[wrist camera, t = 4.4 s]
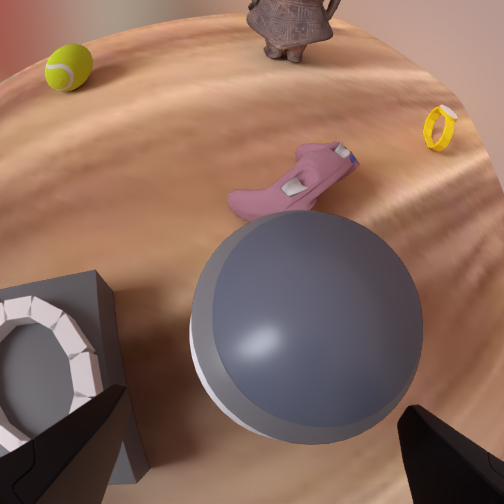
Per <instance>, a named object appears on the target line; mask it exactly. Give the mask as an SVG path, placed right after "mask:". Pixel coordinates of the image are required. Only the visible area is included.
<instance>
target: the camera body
mask: <svg viewBox="0 0 504 504" xmlns="http://www.w3.org/2000/svg"><path fill="white" fill-rule="evenodd" d="M114 383H118V384H122V385H126V386H127V382H126V377H125V372H124V367H123V361H122V356H121V350H120V344H119V337H118V331H117V323H116V316H115V307H114V298H113V291H112V289H111V288H110V287H109V286H108V285H107V283H106V282H105V281H104V280H103V278H102V277H101V276H100V275H99V273H98V272H97V271H96V270H92V271H87V272H82V273H77V274H72V275H67V276H62V277H57V278H52V279H47V280H43V281H38V282H33V283H28V284H23V285H19V286H14V287H9V288H4V289H0V457H1V456H3V455H5V454H7V453H9V452H11V451H13V450H15V449H16V448H18V447H20V446H21V445H23V444H25V443H26V442H28V441H29V440H31V439H33V440H34V437H36V436H37V435H39V434H40V433H42V432H43V431H45V430H46V429H48V428H49V427H51V426H52V425H54V424H55V423H57V422H58V421H60V420H61V419H63V418H64V417H66V416H67V415H68V414H70V413H71V412H73V411H74V410H76V409H77V408H79V407H80V406H82V405H83V404H85V403H86V402H88V401H89V400H90V399H92V398H93V397H95V396H96V395H98V394H99V393H101V392H102V391H103V390H105V389H106V388H108V387H109V386H111V385H112V384H114ZM130 403H131V400H130ZM149 469H150V468H149V465H148V462H147V459H146V455H145V452H144V449H143V446H142V442H141V439H140V435H139V432H138V428H137V424H136V421H135V417H134V413H133V409H132V405H131V408H130V413H129V417H128V421H127V425H126V429H125V433H124V437H123V441H122V445H121V449H120V453H119V456H118V458H117V461H116V464H115V466H114V469H113V472H112V474H111V477H110V480H109V483H108V485H115V484H137V483H138V482H139V480H140V479H141V478H142V477H143V476H144V475H145V474H146V473H147V472H148V470H149Z"/></svg>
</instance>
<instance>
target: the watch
mask: <svg viewBox="0 0 504 504" xmlns="http://www.w3.org/2000/svg"><path fill="white" fill-rule="evenodd" d="M441 114H442V115H443V116H444V117H445V127H444V131H443V135H442V136H441V137H440V139H439V141H438V142H437V143H435V144H434V143H433V140H432V129H433V127H434V124H435V121H436V120H437V119H438V117H439V116H440V115H441ZM456 120H457V115H456V114H455V113H454V112H453V111H452V110H451V109H449V108H448V107H446V106H444V105H440V106H439V107H436V108H435V109H433V110H432V111H431V112H430V114H429V115H428V116H427V119H426V122H425V124H424V130H423V135H424V138H425V141H426V144H427V147H428V148H430V149H432V150H434V151H441V150H443V149H444V148H446V147H447V145H448V144H449V142H450V140H451V139H452V135H453V132H454V122H456Z"/></svg>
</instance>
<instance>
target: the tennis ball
mask: <svg viewBox="0 0 504 504" xmlns="http://www.w3.org/2000/svg"><path fill="white" fill-rule="evenodd" d="M92 66H93V59H92V56H91V53H90V52H89V50H88V49H87V48H85V47H84V46H82V45H78V44H68V45H66V46H63V47H61V48H59V49H58V50H56V51H55V52H54V53H53V54H52V55H51V57H50V58H49V60H48V62H47V65H46V68H45V78H46V80H47V83H48V84H49V86H50V87H52V88H53V89H55V90H57V91H60V92H67V91H71V90H74V89H76V88H78V87H80V86H81V85H82V84H83V83H84V82H85V81H86V80H87V79H88V77H89V75H90V73H91V71H92Z"/></svg>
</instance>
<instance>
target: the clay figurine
mask: <svg viewBox="0 0 504 504" xmlns="http://www.w3.org/2000/svg"><path fill="white" fill-rule="evenodd" d="M323 1H324V0H252V3H250V5H249V6H248V8H249V10H250V12H249V13H248V15H247V19H246V20H247V23H248V25H249V26H250V27H251V28H252V29H253V30H255V31H256V32H257V33H258V34H260V35H261V36H263V37H264V38H265V41H266V45H267V46H266V47H265V48H264V50H265V53H266V56H268V57H271V58H279V57H281V55H282V49H285V50H284V51H285V53H286V54H287V59H288V60H290V61H293V62H300V61H301V59H302V53H303V51H304V49H305V47H306V46H307V44H311V43H315V42H320V41H326V40H328V39H330V38H332V37H333V31H332V29H331V27H330V25H329V22H328V21H329V20H330V19H331V18H332V16H333V14H334V12H335V11H336V9H337V8H338V5H339V3H340V1H341V0H331V1H330V3H329V5H328V8H327V10H325V9H324V7H323Z"/></svg>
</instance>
